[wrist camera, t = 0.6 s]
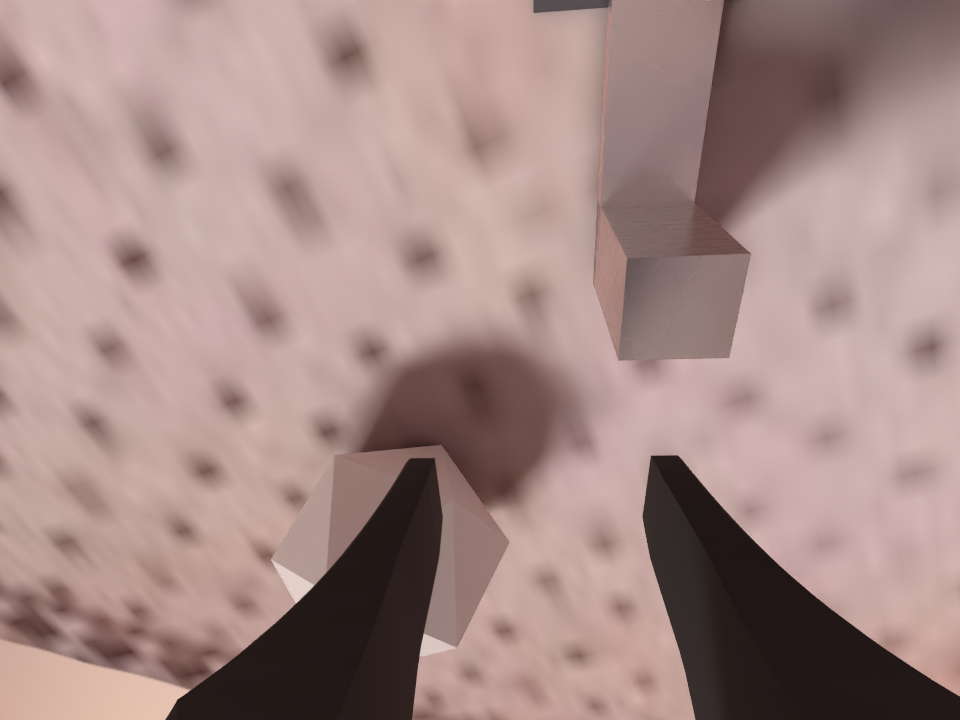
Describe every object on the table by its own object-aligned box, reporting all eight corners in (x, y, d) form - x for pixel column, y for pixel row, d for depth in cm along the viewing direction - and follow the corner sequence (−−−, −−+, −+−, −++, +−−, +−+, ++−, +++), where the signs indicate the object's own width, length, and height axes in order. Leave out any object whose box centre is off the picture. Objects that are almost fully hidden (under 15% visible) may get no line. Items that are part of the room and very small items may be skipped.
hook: (1090, -372, 12) (1525, -680, 7) (873, 269, 19) (998, 351, 14) (623, -317, 12) (697, -555, 7) (592, 279, 20) (618, 360, 15)
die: (319, 386, 24) (187, 613, 20) (480, 416, 19) (348, 727, 15) (417, 462, 30) (331, 647, 26) (558, 500, 25) (479, 737, 21)
